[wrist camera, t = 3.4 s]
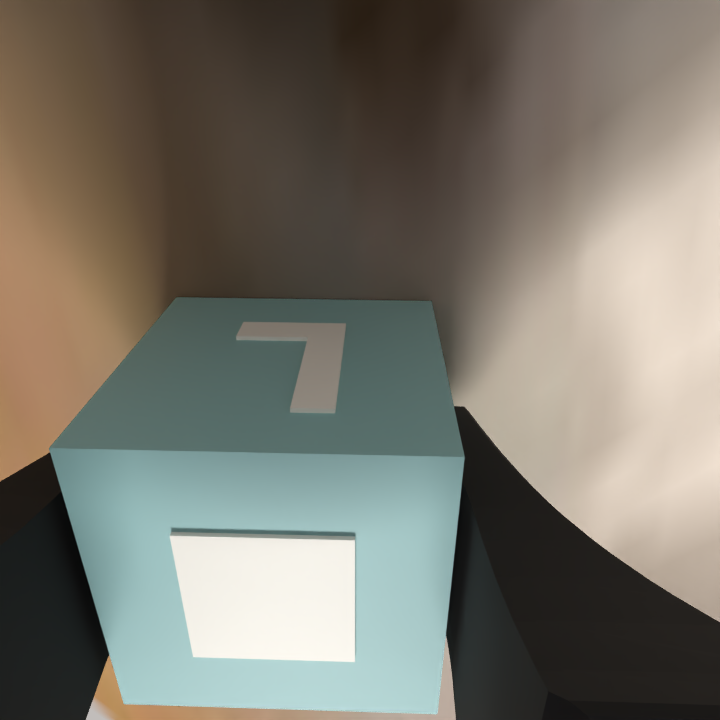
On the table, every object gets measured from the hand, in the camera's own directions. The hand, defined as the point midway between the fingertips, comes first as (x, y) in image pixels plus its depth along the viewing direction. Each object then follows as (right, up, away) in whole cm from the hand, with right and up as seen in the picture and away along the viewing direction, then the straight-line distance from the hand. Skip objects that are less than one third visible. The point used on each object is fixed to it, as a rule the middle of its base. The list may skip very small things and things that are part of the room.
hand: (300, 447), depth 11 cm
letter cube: (0, +1, +1) cm, 1 cm away
